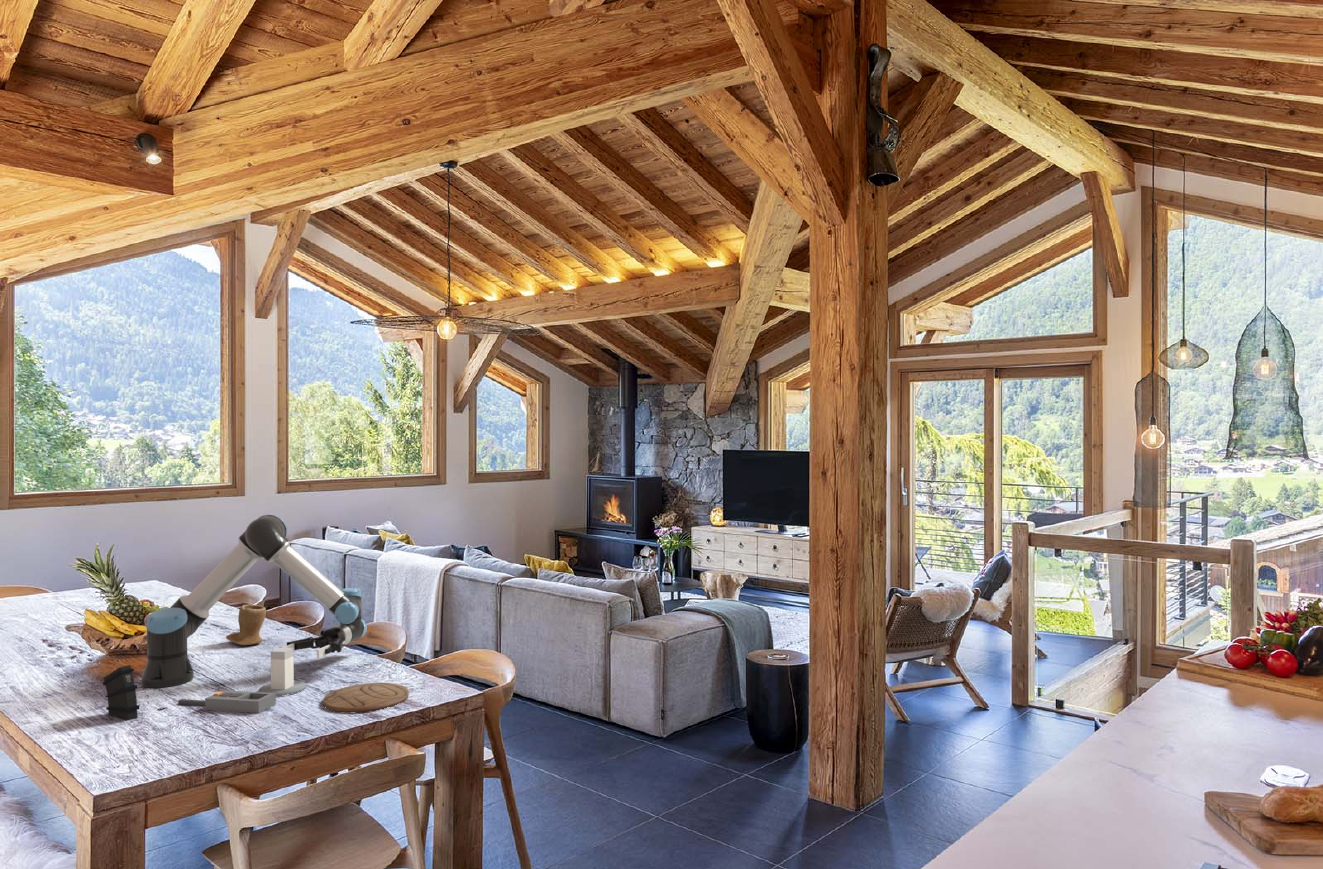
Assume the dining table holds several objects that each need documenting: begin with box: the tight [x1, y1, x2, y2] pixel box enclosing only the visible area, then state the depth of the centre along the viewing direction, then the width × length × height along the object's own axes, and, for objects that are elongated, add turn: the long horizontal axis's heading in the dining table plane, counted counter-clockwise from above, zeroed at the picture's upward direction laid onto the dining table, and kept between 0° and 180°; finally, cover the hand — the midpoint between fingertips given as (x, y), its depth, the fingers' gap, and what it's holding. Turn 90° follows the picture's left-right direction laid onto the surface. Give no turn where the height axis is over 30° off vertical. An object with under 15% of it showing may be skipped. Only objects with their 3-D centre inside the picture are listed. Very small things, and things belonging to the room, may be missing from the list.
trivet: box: [322, 682, 410, 713], centre depth 264 cm, size 25×25×2 cm
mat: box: [257, 680, 307, 697], centre depth 274 cm, size 14×14×1 cm
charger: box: [270, 647, 295, 690], centre depth 274 cm, size 5×4×12 cm
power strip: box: [178, 689, 277, 714], centre depth 259 cm, size 30×8×4 cm, turn 79°
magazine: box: [102, 664, 140, 721], centre depth 251 cm, size 4×13×15 cm, turn 58°
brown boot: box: [225, 604, 267, 646], centre depth 337 cm, size 15×12×15 cm
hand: (299, 653), depth 283 cm, fingers open, 13 cm apart
